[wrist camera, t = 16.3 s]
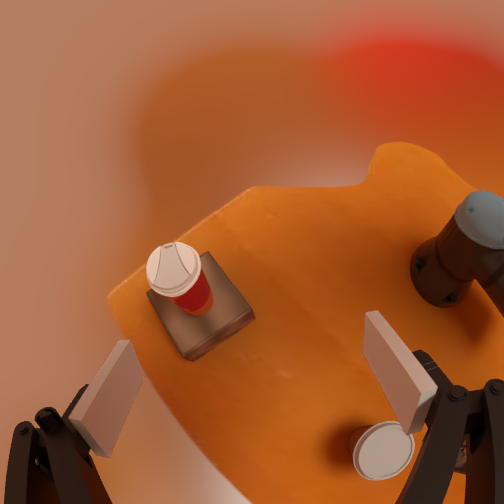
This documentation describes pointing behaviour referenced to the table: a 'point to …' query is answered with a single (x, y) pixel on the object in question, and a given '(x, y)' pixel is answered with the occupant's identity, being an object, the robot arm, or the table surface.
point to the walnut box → (209, 324)
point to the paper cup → (180, 277)
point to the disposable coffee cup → (380, 450)
